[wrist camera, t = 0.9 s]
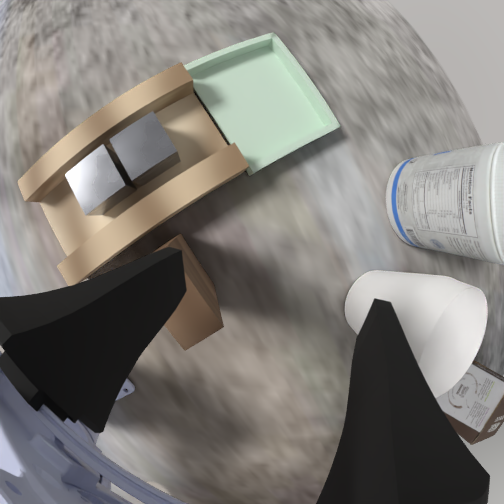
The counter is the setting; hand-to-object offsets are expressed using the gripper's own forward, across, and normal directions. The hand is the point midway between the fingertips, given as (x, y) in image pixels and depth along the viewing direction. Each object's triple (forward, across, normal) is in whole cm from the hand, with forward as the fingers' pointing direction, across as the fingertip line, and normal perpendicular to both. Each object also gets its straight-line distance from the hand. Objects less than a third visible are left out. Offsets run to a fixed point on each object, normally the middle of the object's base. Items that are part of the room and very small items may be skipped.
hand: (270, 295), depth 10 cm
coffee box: (+16, -16, +19) cm, 30 cm away
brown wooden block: (+8, +9, +7) cm, 14 cm away
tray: (+16, +6, -6) cm, 19 cm away
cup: (+15, -7, +11) cm, 20 cm away
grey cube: (+7, +15, 0) cm, 16 cm away
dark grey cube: (+9, +12, -2) cm, 15 cm away
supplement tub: (+22, -10, +2) cm, 24 cm away
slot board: (+8, +14, 0) cm, 17 cm away
